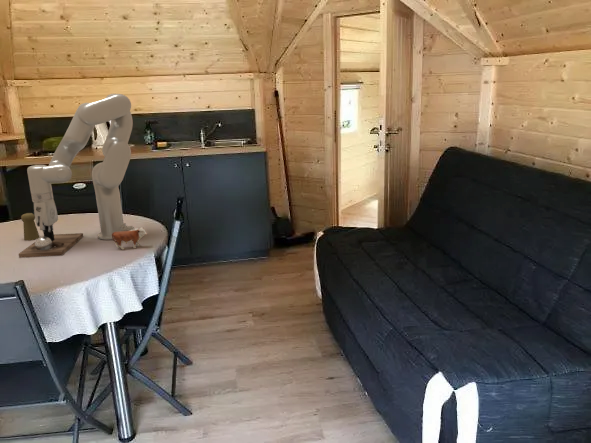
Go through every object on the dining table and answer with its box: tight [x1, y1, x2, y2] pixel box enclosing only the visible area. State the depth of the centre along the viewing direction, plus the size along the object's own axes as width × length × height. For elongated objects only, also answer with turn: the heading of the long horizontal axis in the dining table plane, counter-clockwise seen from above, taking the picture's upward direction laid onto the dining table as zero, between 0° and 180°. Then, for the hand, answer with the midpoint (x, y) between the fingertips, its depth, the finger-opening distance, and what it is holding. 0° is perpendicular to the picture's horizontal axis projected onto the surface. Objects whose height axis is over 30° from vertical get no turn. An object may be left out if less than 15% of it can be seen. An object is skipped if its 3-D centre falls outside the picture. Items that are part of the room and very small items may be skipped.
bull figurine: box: [111, 227, 148, 251], centre depth 193 cm, size 4×13×8 cm, turn 98°
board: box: [18, 232, 84, 258], centre depth 199 cm, size 24×16×2 cm, turn 4°
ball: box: [34, 235, 53, 250], centre depth 193 cm, size 6×6×6 cm
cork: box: [20, 212, 41, 241], centre depth 209 cm, size 6×6×11 cm
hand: (49, 240), depth 197 cm, fingers closed
